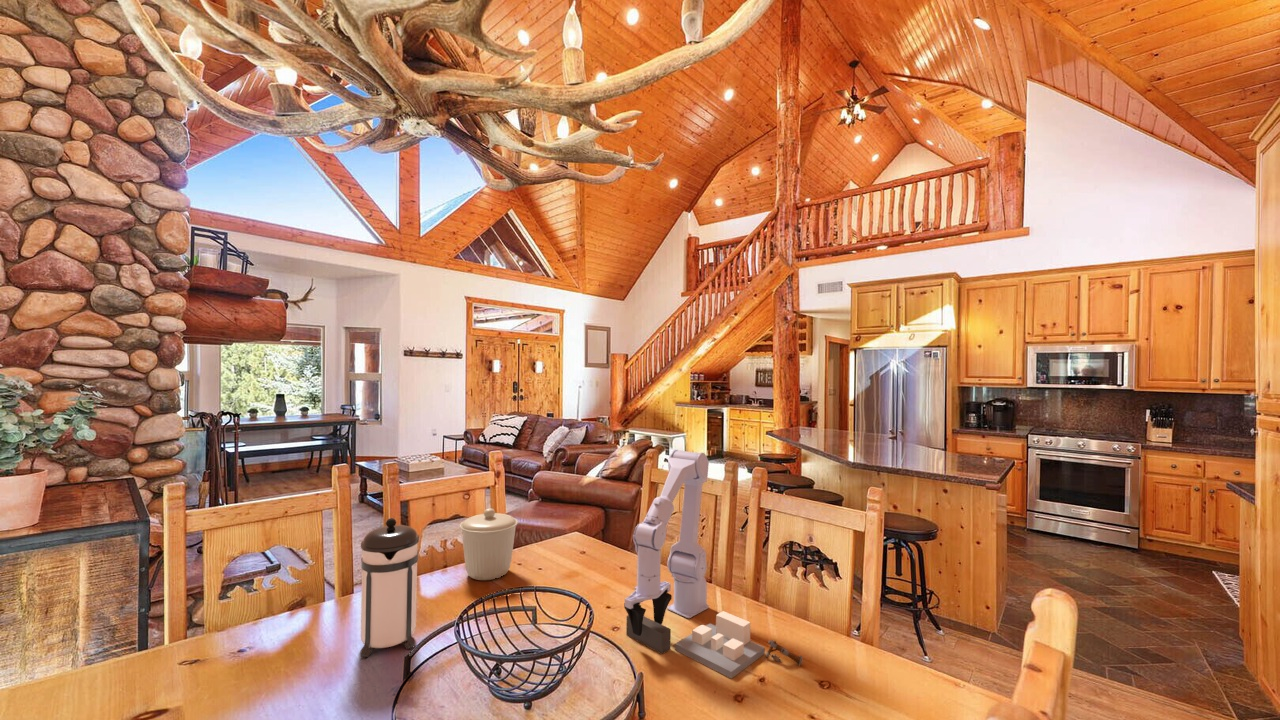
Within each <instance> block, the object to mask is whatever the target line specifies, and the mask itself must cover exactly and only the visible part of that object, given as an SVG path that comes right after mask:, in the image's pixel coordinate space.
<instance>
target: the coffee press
mask: <svg viewBox="0 0 1280 720" xmlns="http://www.w3.org/2000/svg"><path fill="white" fill-rule="evenodd" d="M419 542H420V535H419V534H418V532H417V531H416V530H415V528H413V527H412V526H408V525H402V524H397V520H396V519H395V518H392V517H389V518H388V519H387V520H386V522H385V526H381V527H378V528H375V529H373V530H371V531H369V532H367V534H366V535H365V536H364V538H363V540H362V541H361V542H360V549H361V550H362V552H361V553H362V554H361V555H362V556H361V559H360V568H361V601H360V603H361V605H360V606H361V607H360V609H361V610H360V640H361V642H362V644H364V645H363V647H362V650H361V652H360V657H361V658H364V659H367V658H369V657H370V656H371V653H372V652H373V651H374V650H375V649H385V648H389V647H390V648H391V647H394V646H398V645H399V644H402V645H403V646H404V647H405V649H406V650H408V651H409V650H411V649H413V648H414V647H415V646H416V643H415V640H414V639H413V635H414V633H415V631H416V628H417V593H418V591H417V588H418V584H417V583H418V579H417V578H418V561H419V550H418V547H419V546H418V544H419ZM413 646H414V647H413Z"/></svg>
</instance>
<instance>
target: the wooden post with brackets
mask: <svg viewBox="0 0 1280 720" xmlns="http://www.w3.org/2000/svg"><path fill="white" fill-rule="evenodd" d="M767 642H768V644H769V646H770V647H769V649H768V650H767V652H765V659H768V658H769V657H771V658H773V659H772V661H776V662H777V663H779V662H782V659H781V658H780V656H778V655H776V654H773V652H776V651H779V652H780V654H782V655H784V656H785V657H788V658H789V659H791V660H793V662H795V663H796V664H797V667H800V666H801V665H802V662H803V660H804V659H803V656H802V655H800V656H798V655H795V654H793V653H792V652H790V650H787V649H786V648H784V647H783V646H781V645H779V644H778V643H777V641H776V640H768V641H767ZM799 665H800V666H799Z"/></svg>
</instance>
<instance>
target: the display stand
mask: <svg viewBox="0 0 1280 720" xmlns="http://www.w3.org/2000/svg"><path fill="white" fill-rule="evenodd" d="M765 648H766V647H765V646H763V645H760V644H758V643H756V642H754V641H751V621H748V620H747V619H744V618H741V617H738V616H736V615H734V614H731V613H729V612H726V611H725V610H722V611H721V612H719V613H717V614H716V615H715V624H713V623H708V624H706V625H704V624H701V625H699V626H697V627H695V628H694V629H692V630H691V633H690V635H689V634H688V635H687V636H686V637H684V638H682V639H681V640H679V641H677V642H676V643H675V644H674V650H675V651H676V652H677V653H679V654H682V655H684V656H686V657H688V658H690V659H692V660H694V661H695V662H697V663H699V664H701V665H703V666H705V667H707V668H709V669H711V670H713V671H715V672H717V673H719V674H720V675H723V676H725V677H727V678H728V679H733V678H734V677H736V676H737V675H739V674H740V673H741V672H742V671H744V670H745V669H746V668H748V667H749V666H751V665H752V664H753V663H754V662H756V661H757V660H759V659H760V658H761V657H762V656H764V655H766V651H765V650H766V649H765Z"/></svg>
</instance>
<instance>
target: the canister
mask: <svg viewBox="0 0 1280 720" xmlns="http://www.w3.org/2000/svg"><path fill="white" fill-rule="evenodd" d="M518 524H519V521H518V519H517V518H515V517H513V516H512V515H510V514H507V513H499V512H496V511H495V509H494V508H492V507H490V508H486V509H484V511H483V513H480V514H476V515H472V516H470V517H468V518H466V519H465V520H463V521H461V522H460V523H459V529H460V530H461V535H462V536H461V538H462V547H463V558H464V566H465V571H466V574H467V576H468V577H470V578H471V579H473V580H477V581H491V580H496V579H495V578H497V579H499V578H501V576H502V577H503V575H504V576H506V574H507V573H508V571H509V570H510V568H511V563H512V557H513V552H514V551H513V550H514V542H515V535H516V527H517V526H518Z"/></svg>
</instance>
